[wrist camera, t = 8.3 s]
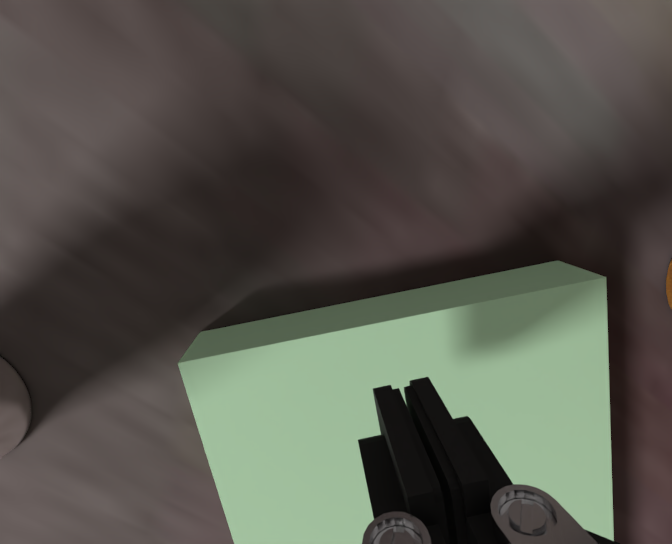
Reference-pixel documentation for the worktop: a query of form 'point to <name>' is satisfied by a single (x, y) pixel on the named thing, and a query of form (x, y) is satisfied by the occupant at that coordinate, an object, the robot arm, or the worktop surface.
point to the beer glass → (12, 408)
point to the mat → (397, 370)
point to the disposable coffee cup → (669, 284)
